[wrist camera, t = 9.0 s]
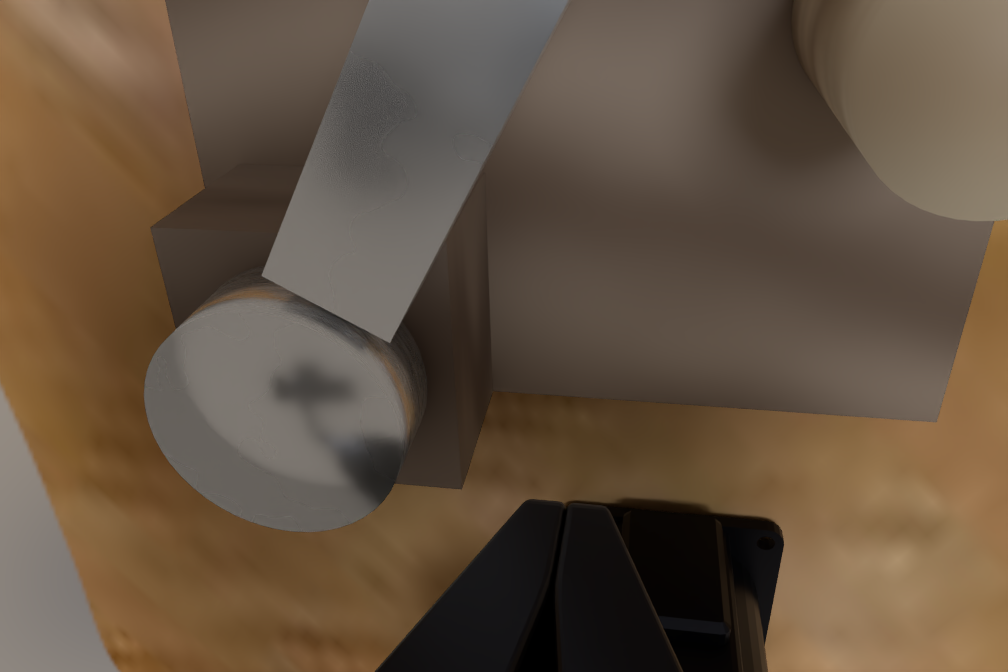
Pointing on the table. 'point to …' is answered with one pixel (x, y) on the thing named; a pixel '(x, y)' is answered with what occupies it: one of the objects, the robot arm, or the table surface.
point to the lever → (346, 274)
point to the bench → (605, 220)
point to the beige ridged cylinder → (917, 94)
